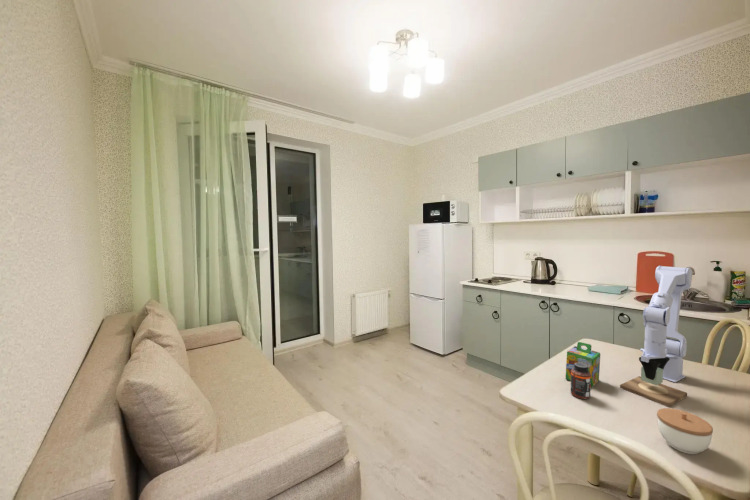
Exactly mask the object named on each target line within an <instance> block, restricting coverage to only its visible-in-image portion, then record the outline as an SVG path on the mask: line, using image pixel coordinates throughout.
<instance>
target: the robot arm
mask: <svg viewBox="0 0 750 500" xmlns="http://www.w3.org/2000/svg"><path fill="white" fill-rule="evenodd" d="M654 278H655V280H656V282H657V284H658V291H656V292H654V293H653V294H652V297H651V299H650V301H649V304H648V306H647V307H644V308H643V311H642V312H643V313H642V320H643V327H644V342H643V343H644V344H643V347H644V348H640V349H639V351H640V352H642V354H641V355H640V357H638V360H639V362H640V363H641V367H642V366H643V368H644V372H645V376H646V378H648V379H651V380H654V378H655V375H656V371H657V368H661V369H663V380H666V381H670V382H673V383H676V382H679V381H681V380H683V379H684V378H686V377H687V376H686V375H685V374H683V369H684V357H686V354H687V348H688V347H687V341H688V340H687V339H686V337H685V336H684V335H683V334H681V333H680V331H678V329H679V320H680V312H681V304H682V295H683V293H684V292H685V291H687V290H690V289H691V286H692V280H693V279H692V278H693V270H692V268H691V267H679V266H663V265H658V266H657V267H656V268H655V273H654Z"/></svg>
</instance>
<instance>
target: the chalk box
mask: <svg viewBox="0 0 750 500" xmlns="http://www.w3.org/2000/svg"><path fill="white" fill-rule="evenodd" d="M583 346H584V347H586V348H584V347H583ZM565 361H566V363H565V380H568V381H570V382H571V370H572V369H573V368H575V367H574V364H575V363H583V364H586V365H587V366H588V371H589V372H590V374H591V389H592V388H593V387H595V385H596V384H597V383H598V382H599V381H600V369H601V367H600V366H601V353H600V352H599V351H595V350H592V344H590V343H586V342H582V341H577V345H576V346H573V347H572V348H570V349H568V350H567V352H566V360H565Z"/></svg>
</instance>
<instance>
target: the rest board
mask: <svg viewBox="0 0 750 500" xmlns="http://www.w3.org/2000/svg"><path fill="white" fill-rule="evenodd" d="M619 388H620V389H622V390H624V391H627V392H630V393H632V394H634V395H637V396H640V397H642V398H644V399H647V400H649V401H652V402H655V403H657V404H659V405H662V406H664V407H665V406H666V407H667V408H671V407H672V406H673V405H675V404H677V403H678V402H680V401H682V400H683V399H685V398H687V397H688V392H685V391H683V390H680V389H677V388H674V387H672V386H669V385H666V384H663V383H661V384H659V385H657V386H656V385H653V384H651V383H648V382H645V381H642V380H641V375H639V376H637V377H634V378H632V379H629V380H628V381H625V382H624V383H621V384H620V385H619Z"/></svg>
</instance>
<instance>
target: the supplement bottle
mask: <svg viewBox="0 0 750 500" xmlns="http://www.w3.org/2000/svg"><path fill="white" fill-rule="evenodd" d="M574 367H575V368H573V369H572V370H571V381H570V394H571V395H572V396H574V397H575V398H578V399H582V400H588V399H590V398H591V389H592V388H591V374H590V372H589V371H588V366H587V365H586V364H583V363H575V364H574Z"/></svg>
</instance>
